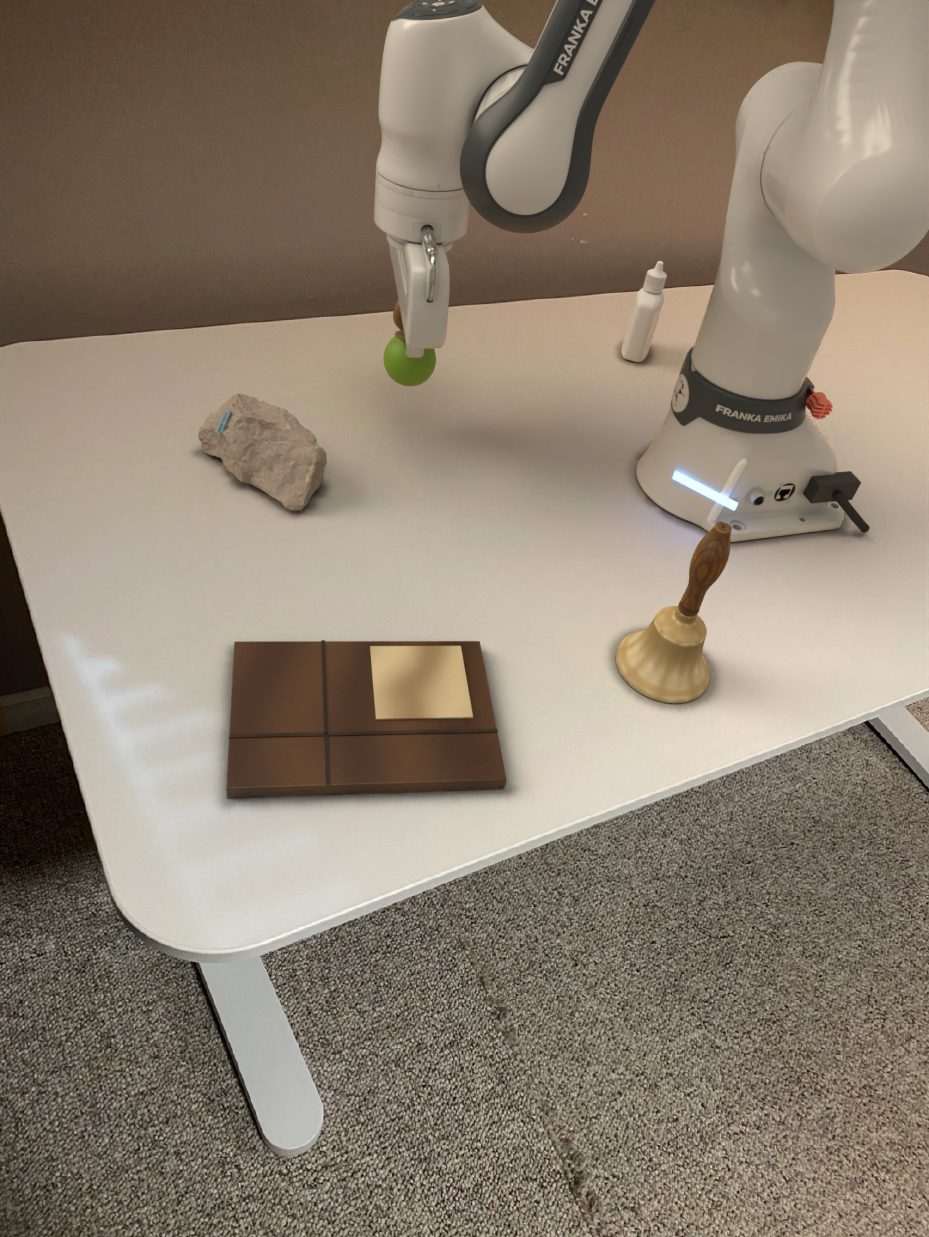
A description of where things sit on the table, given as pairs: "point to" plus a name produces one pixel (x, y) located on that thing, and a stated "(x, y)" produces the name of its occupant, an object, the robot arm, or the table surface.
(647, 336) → the eye dropper bottle
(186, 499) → the table surface
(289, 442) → the concrete fragment
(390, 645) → the game board
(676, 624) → the hand bell
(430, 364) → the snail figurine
